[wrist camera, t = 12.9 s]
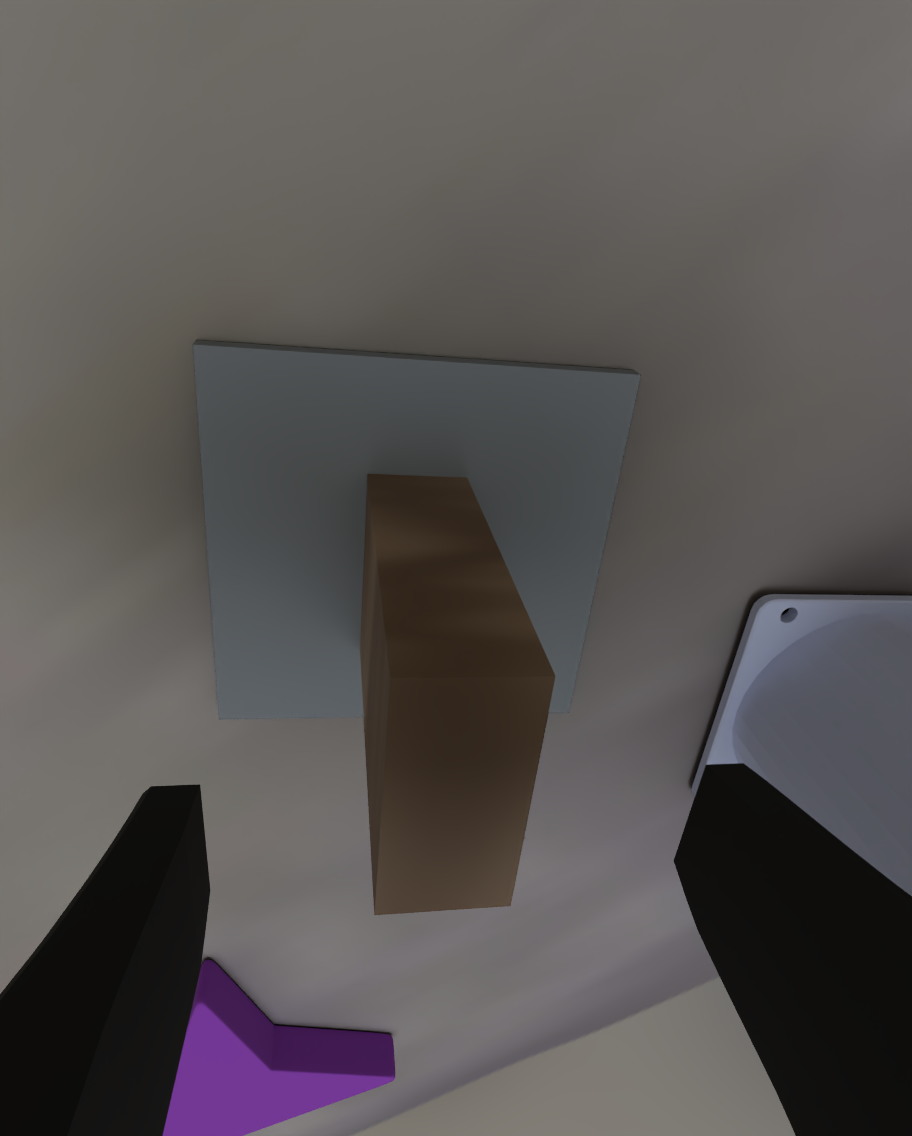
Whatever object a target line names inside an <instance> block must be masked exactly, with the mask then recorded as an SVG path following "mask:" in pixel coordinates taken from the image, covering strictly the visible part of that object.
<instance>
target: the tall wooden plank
mask: <svg viewBox="0 0 912 1136" xmlns="http://www.w3.org/2000/svg"><path fill="white" fill-rule="evenodd" d="M360 660H361V678H362V696H363V715H364V733H365V751H366V769H367V788H368V806H369V824H370V842H371V861H372V879H373V897H374V915H383V914H398V913H413V912H428V911H442V910H457V909H472V908H486V907H501V906H511V901H512V896H513V891H514V886H515V881H516V875H517V870H518V865H519V860H520V855H521V850H522V845H523V840H524V835H525V830H526V825H527V819H528V814H529V809H530V804H531V799H532V794H533V789H534V784H535V779H536V774H537V769H538V763H539V758H540V753H541V748H542V743H543V738H544V733H545V728H546V723H547V718H548V713H549V707H550V702H551V697H552V692H553V687H554V682H555V677H556V676H555V674H554V672H553V669H552V667H551V665H550V663H549V660H548V658H547V656H546V654H545V651H544V649H543V647H542V645H541V642H540V640H539V638H538V636H537V633H536V631H535V629H534V627H533V624H532V622H531V620H530V618H529V615H528V613H527V611H526V609H525V606H524V604H523V602H522V600H521V597H520V595H519V593H518V591H517V588H516V586H515V584H514V582H513V579H512V577H511V575H510V573H509V570H508V568H507V566H506V564H505V561H504V559H503V557H502V555H501V552H500V550H499V548H498V546H497V543H496V541H495V539H494V537H493V535H492V532H491V530H490V528H489V526H488V523H487V521H486V519H485V517H484V514H483V512H482V510H481V508H480V505H479V503H478V501H477V499H476V496H475V494H474V492H473V490H472V487H471V485H470V483H469V481H468V478H465V477H439V476H413V475H387V474H367V494H366V517H365V541H364V565H363V589H362V613H361V637H360Z"/></svg>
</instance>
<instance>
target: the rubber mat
mask: <svg viewBox="0 0 912 1136" xmlns="http://www.w3.org/2000/svg"><path fill="white" fill-rule="evenodd" d="M193 355H194V370H195V384H196V398H197V413H198V427H199V441H200V456H201V470H202V485H203V499H204V513H205V528H206V542H207V557H208V571H209V585H210V600H211V614H212V629H213V643H214V657H215V672H216V686H217V700H218V715H219V720H221V719H273V718H324V717H364V715H363V696H362V678H361V660H360V637H361V613H362V589H363V565H364V541H365V517H366V494H367V474H387V475H413V476H439V477H465V478H468V481H469V483H470V485H471V487H472V490H473V492H474V494H475V496H476V499H477V501H478V503H479V505H480V508H481V510H482V512H483V514H484V517H485V519H486V521H487V523H488V526H489V528H490V530H491V532H492V535H493V537H494V539H495V541H496V543H497V546H498V548H499V550H500V552H501V555H502V557H503V559H504V561H505V564H506V566H507V568H508V570H509V573H510V575H511V577H512V579H513V582H514V584H515V586H516V588H517V591H518V593H519V595H520V597H521V600H522V602H523V604H524V606H525V609H526V611H527V613H528V615H529V618H530V620H531V622H532V624H533V627H534V629H535V631H536V633H537V636H538V638H539V640H540V642H541V645H542V647H543V649H544V651H545V654H546V656H547V658H548V660H549V663H550V665H551V667H552V669H553V672H554V674H555V676H556V677H555V682H554V687H553V692H552V697H551V702H550V707H549V713H569V710H570V705H571V700H572V696H573V691H574V686H575V681H576V677H577V672H578V667H579V663H580V658H581V653H582V649H583V644H584V639H585V635H586V630H587V625H588V621H589V616H590V611H591V607H592V602H593V597H594V593H595V588H596V583H597V578H598V574H599V569H600V564H601V560H602V555H603V550H604V546H605V541H606V536H607V532H608V527H609V522H610V518H611V513H612V508H613V504H614V499H615V494H616V490H617V485H618V480H619V476H620V471H621V466H622V461H623V457H624V452H625V447H626V443H627V438H628V433H629V429H630V424H631V419H632V415H633V410H634V405H635V401H636V396H637V391H638V387H639V382H640V377H641V375H640V374H639V373H637V372H636V371H634V370H626V369H612V368H597V367H583V366H568V365H554V364H539V363H525V362H510V361H496V360H481V359H467V358H452V357H437V356H423V355H408V354H394V353H379V352H365V351H350V350H336V349H321V348H307V347H292V346H278V345H263V344H248V343H234V342H219V341H205V340H196V341H195V343H194V344H193Z"/></svg>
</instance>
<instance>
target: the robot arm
mask: <svg viewBox="0 0 912 1136" xmlns="http://www.w3.org/2000/svg"><path fill="white" fill-rule="evenodd" d="M787 608H790V609H789V610H788V612H787V613H785V614H784V615H781V614H782V612H783V611H784V610H786V609H787ZM691 792H692V794H693V796H694V797H695V798H694V801H693V804H692V807H691V810H690V813H689V816H688V819H687V822H686V825H685V828H684V831H683V834H682V837H681V840H680V843H679V846H678V849H677V852H676V855H675V858H674V863H675V866H676V869H677V872H678V875H679V878H680V881H681V884H682V887H683V890H684V893H685V896H686V899H687V902H688V905H689V907H690V910H691V913H692V916H693V918H694V921H695V924H696V927H697V929H698V931H699V934H700V936H701V938H702V940H703V942H704V944H705V947H706V949H707V951H708V953H709V955H710V957H711V959H712V961H713V963H714V965H715V967H716V969H717V972H718V974H719V976H720V978H721V980H722V982H723V984H724V986H725V988H726V990H727V992H728V994H729V996H730V998H731V1000H732V1002H733V1004H734V1006H735V1009H736V1011H737V1013H738V1015H739V1017H740V1018H741V1020H742V1023H743V1025H744V1027H745V1029H746V1031H747V1033H748V1035H749V1037H750V1039H751V1041H752V1043H753V1045H754V1047H755V1049H756V1051H757V1053H758V1055H759V1057H760V1059H761V1062H762V1064H763V1066H764V1068H765V1069H766V1072H767V1074H768V1076H769V1078H770V1080H771V1082H772V1084H773V1086H774V1088H775V1090H776V1092H777V1094H778V1097H779V1099H780V1101H781V1103H782V1106H783V1108H784V1110H785V1112H786V1115H787V1117H788V1119H789V1121H790V1123H791V1126H792V1128H793V1130H794V1132H795V1135H796V1136H912V596H899V595H810V594H770V595H765V596H763V597H761V598H759V599H758V600H757V601H756V602H755V603H754V605H753V607H752V609H751V611H750V614H749V617H748V620H747V623H746V626H745V629H744V632H743V635H742V638H741V641H740V644H739V647H738V650H737V653H736V656H735V659H734V662H733V665H732V668H731V671H730V674H729V677H728V680H727V683H726V686H725V689H724V693H723V696H722V699H721V702H720V705H719V708H718V711H717V714H716V717H715V720H714V723H713V726H712V729H711V732H710V735H709V738H708V741H707V744H706V747H705V750H704V753H703V756H702V759H701V762H700V765H699V768H698V771H697V774H696V777H695V780H694V783H693V786H692V791H691ZM209 896H210V883H209V873H208V862H207V852H206V842H205V831H204V821H203V811H202V800H201V790H200V785H177V786H151V787H150V788H149V789H148V790H146V791H145V792H144V793H143V794H142V796H141V797H140V799H139V801H138V802H137V804H136V806H135V807H134V809H133V811H132V812H131V814H130V816H129V817H128V819H127V820H126V822H125V824H124V825H123V827H122V828H121V830H120V831H119V833H118V834H117V836H116V838H115V839H114V841H113V842H112V844H111V845H110V847H109V848H108V850H107V851H106V853H105V854H104V856H103V857H102V859H101V860H100V861H99V863H98V864H97V866H96V867H95V869H94V870H93V872H92V873H91V875H90V876H89V878H88V879H87V880H86V882H85V883H84V885H83V886H82V887H81V889H80V890H79V892H78V893H77V894H76V896H75V897H74V898H73V900H72V901H71V903H70V904H69V905H68V907H67V908H66V909H65V911H64V912H63V913H62V915H61V916H60V918H59V919H58V920H57V922H56V923H55V924H54V926H53V927H52V929H51V930H50V931H49V933H48V934H47V935H46V937H45V938H44V939H43V941H42V942H41V943H40V945H39V946H38V947H37V949H36V950H35V951H34V953H33V954H32V955H31V956H30V958H29V959H28V960H27V961H26V963H25V964H24V965H23V966H22V968H21V969H20V970H19V971H18V973H17V974H16V975H15V976H14V978H13V979H12V980H11V981H10V983H9V984H8V985H7V986H6V988H5V989H4V990H3V991H2V993H1V994H0V1136H163V1132H164V1127H165V1123H166V1119H167V1114H168V1110H169V1106H170V1101H171V1097H172V1093H173V1088H174V1084H175V1080H176V1075H177V1071H178V1067H179V1062H180V1058H181V1053H182V1049H183V1045H184V1040H185V1036H186V1032H187V1027H188V1023H189V1018H190V1014H191V1010H192V1005H193V1001H194V996H195V992H196V987H197V983H198V978H199V974H200V968H201V961H202V953H203V945H204V938H205V930H206V921H207V913H208V905H209Z"/></svg>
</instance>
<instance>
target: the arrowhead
mask: <svg viewBox="0 0 912 1136" xmlns="http://www.w3.org/2000/svg"><path fill="white" fill-rule="evenodd" d="M394 1079H395V1061H394V1046H393V1038H392V1036H391V1035H389V1034H383V1033H372V1032H358V1031H345V1030H331V1029H317V1028H303V1027H289V1026H275V1025H273V1024H272V1023H271V1022H270V1021H269V1020H268V1018H267V1017H266V1016H265V1015H264V1014H263V1013H262V1012H261V1011H260V1010H259V1009H258V1008H257V1007H256V1006H255V1004H254V1003H253V1002H252V1001H251V1000H250V999H249V998H248V997H247V996H246V995H245V994H244V993H243V992H242V991H241V989H240V988H239V987H238V986H237V985H236V984H235V983H234V982H233V981H232V980H231V979H230V978H229V977H228V976H227V975H226V974H225V972H224V971H223V970H222V969H221V968H220V967H219V966H218V965H217V964H216V963H215V962H213V961H212V960H205V961H204V962H203V963H202V965H201V968H200V974H199V978H198V983H197V987H196V992H195V996H194V1001H193V1005H192V1010H191V1014H190V1018H189V1023H188V1027H187V1032H186V1036H185V1040H184V1045H183V1049H182V1053H181V1058H180V1062H179V1067H178V1071H177V1075H176V1080H175V1084H174V1088H173V1093H172V1097H171V1101H170V1106H169V1110H168V1114H167V1119H166V1123H165V1127H164V1132H163V1136H243V1135H246V1134H248V1133H251V1132H254V1131H257V1130H260V1129H262V1128H265V1127H268V1126H271V1125H274V1124H276V1123H279V1122H282V1121H285V1120H287V1119H290V1118H293V1117H296V1116H299V1115H301V1114H304V1113H307V1112H310V1111H312V1110H315V1109H318V1108H321V1107H324V1106H326V1105H329V1104H332V1103H335V1102H337V1101H340V1100H343V1099H346V1098H349V1097H351V1096H354V1095H357V1094H360V1093H362V1092H365V1091H368V1090H371V1089H373V1088H376V1087H379V1086H381V1085H384V1084H387V1083H389V1082H392V1081H393V1080H394Z"/></svg>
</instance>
